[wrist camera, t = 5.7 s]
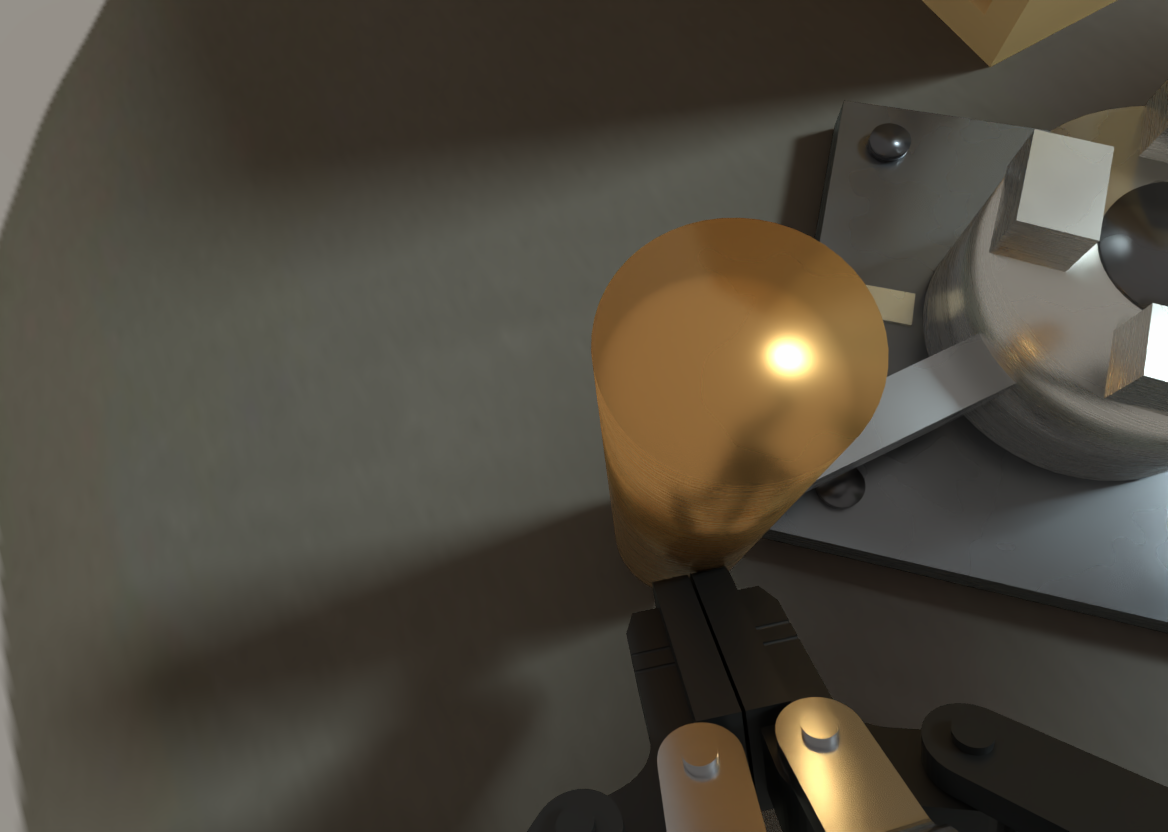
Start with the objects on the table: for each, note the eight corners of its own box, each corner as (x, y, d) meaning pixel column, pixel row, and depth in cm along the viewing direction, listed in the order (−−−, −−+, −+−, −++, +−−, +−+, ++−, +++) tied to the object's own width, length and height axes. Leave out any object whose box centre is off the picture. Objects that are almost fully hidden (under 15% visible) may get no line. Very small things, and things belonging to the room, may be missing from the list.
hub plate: (834, 127, 24) (846, 93, 22) (1302, 199, 22) (1348, 166, 20) (762, 537, 19) (772, 526, 18) (1338, 672, 17) (1399, 673, 16)
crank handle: (1105, 168, 21) (1567, -324, 11) (1312, 398, 18) (2202, 42, 8) (556, 421, 19) (467, 135, 9) (696, 712, 17) (798, 780, 6)
